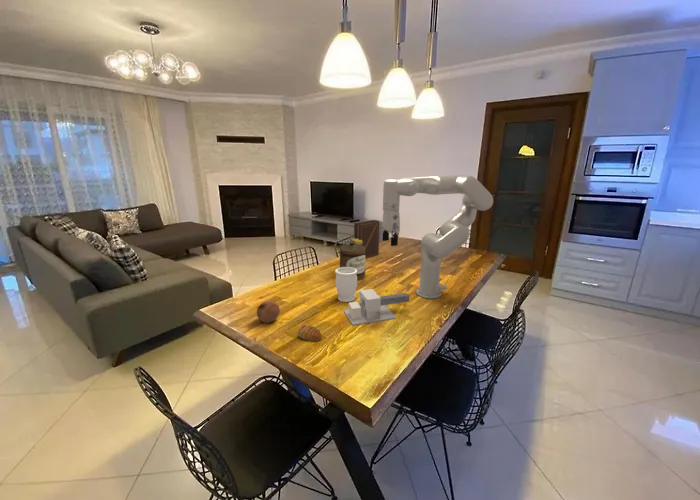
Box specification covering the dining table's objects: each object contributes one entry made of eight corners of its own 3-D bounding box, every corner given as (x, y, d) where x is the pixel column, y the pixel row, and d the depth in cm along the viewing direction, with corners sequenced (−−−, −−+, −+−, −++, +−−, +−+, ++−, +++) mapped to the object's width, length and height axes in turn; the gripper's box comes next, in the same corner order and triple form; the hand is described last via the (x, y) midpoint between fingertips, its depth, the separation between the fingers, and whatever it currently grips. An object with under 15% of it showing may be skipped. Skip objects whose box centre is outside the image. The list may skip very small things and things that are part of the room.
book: (372, 252, 228) (373, 219, 221) (380, 255, 222) (381, 221, 215) (349, 258, 214) (349, 223, 207) (357, 261, 208) (358, 225, 201)
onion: (263, 331, 128) (252, 316, 123) (262, 315, 136) (251, 300, 130) (284, 322, 129) (274, 306, 123) (282, 307, 137) (272, 291, 131)
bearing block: (384, 305, 145) (385, 285, 142) (396, 318, 133) (397, 297, 130) (343, 311, 139) (343, 291, 136) (352, 325, 127) (352, 303, 124)
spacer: (357, 301, 136) (348, 302, 135) (361, 307, 130) (352, 308, 129) (357, 311, 137) (348, 312, 136) (361, 318, 132) (352, 319, 131)
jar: (338, 304, 146) (338, 275, 141) (333, 295, 155) (333, 267, 151) (359, 301, 148) (360, 272, 144) (353, 293, 158) (354, 265, 154)
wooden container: (350, 283, 171) (350, 245, 165) (334, 275, 182) (334, 240, 176) (370, 277, 180) (370, 241, 174) (353, 270, 191) (354, 236, 185)
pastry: (325, 335, 120) (325, 327, 119) (315, 344, 114) (315, 335, 113) (306, 329, 124) (306, 321, 123) (295, 337, 119) (295, 329, 118)
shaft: (406, 298, 141) (406, 292, 140) (409, 301, 138) (409, 295, 138) (365, 304, 135) (365, 298, 135) (367, 307, 133) (367, 301, 132)
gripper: (407, 209, 133) (405, 247, 138) (390, 204, 149) (389, 238, 154) (391, 210, 131) (390, 248, 136) (376, 204, 147) (375, 239, 152)
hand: (389, 243), depth 145 cm, fingers open, 9 cm apart
